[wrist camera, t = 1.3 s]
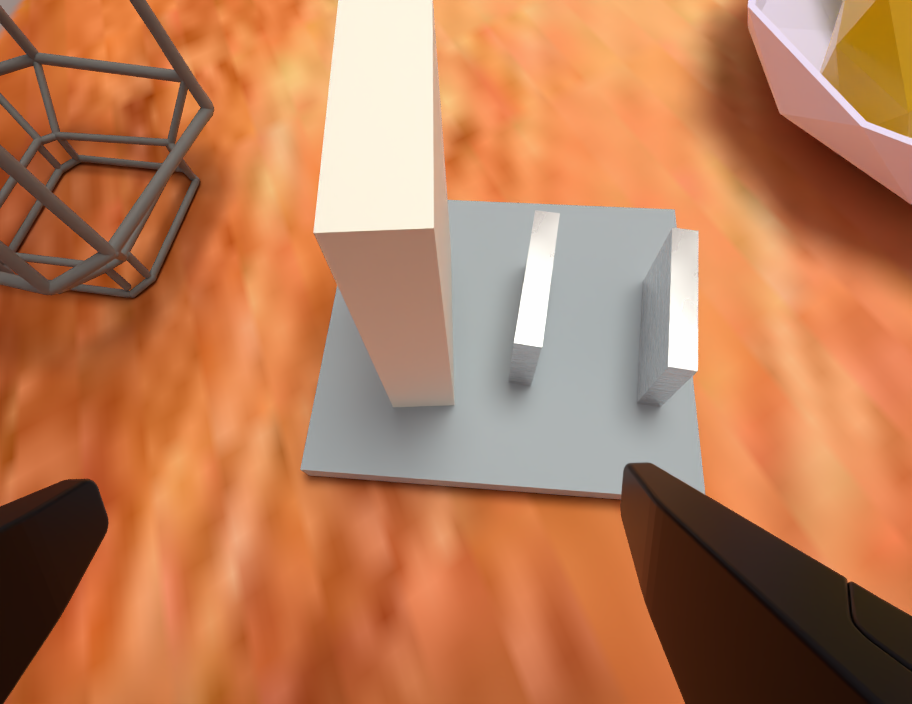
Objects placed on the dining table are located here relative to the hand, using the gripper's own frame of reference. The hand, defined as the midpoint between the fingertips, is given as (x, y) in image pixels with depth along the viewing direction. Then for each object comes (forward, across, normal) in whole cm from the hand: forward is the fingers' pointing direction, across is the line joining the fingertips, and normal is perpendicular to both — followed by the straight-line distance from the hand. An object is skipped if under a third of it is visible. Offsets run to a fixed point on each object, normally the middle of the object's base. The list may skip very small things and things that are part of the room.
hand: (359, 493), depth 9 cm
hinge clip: (+15, -7, +2) cm, 17 cm away
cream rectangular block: (+15, 0, +2) cm, 15 cm away
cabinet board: (+16, -4, +3) cm, 17 cm away
